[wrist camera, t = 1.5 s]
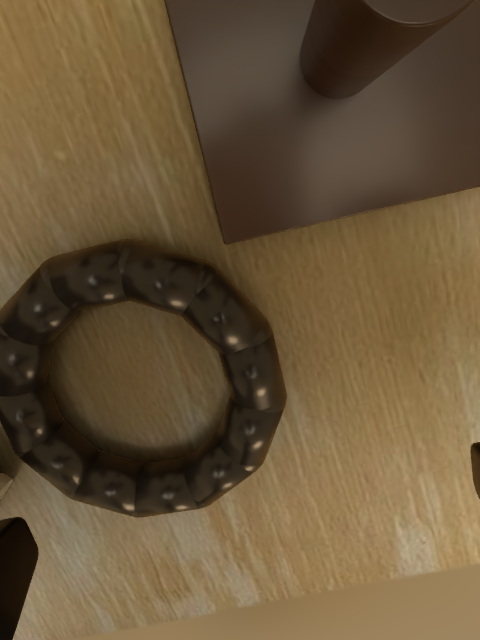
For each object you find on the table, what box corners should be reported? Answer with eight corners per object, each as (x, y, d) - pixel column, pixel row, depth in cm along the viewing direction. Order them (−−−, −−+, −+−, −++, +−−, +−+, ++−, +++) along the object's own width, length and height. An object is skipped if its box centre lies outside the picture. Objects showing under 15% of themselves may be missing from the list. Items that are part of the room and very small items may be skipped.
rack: (496, 178, 13) (768, 194, 6) (227, 239, 14) (187, 316, 7) (476, -171, 11) (897, -842, 4) (153, -66, 12) (-26, -425, 5)
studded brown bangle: (305, 469, 17) (309, 503, 15) (64, 507, 18) (43, 543, 16) (246, 208, 14) (243, 214, 12) (-37, 275, 15) (-77, 289, 13)
